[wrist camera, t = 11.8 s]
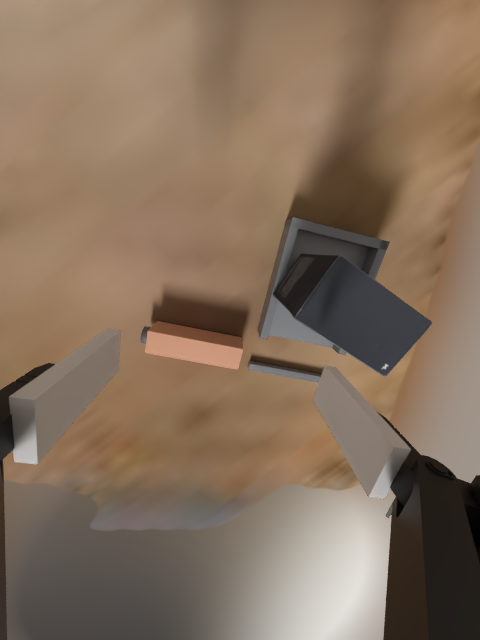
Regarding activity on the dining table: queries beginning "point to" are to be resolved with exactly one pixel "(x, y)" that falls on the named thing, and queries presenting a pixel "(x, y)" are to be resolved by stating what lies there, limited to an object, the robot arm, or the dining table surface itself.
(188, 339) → the bar
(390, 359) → the small box
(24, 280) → the dining table surface
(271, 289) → the tray
